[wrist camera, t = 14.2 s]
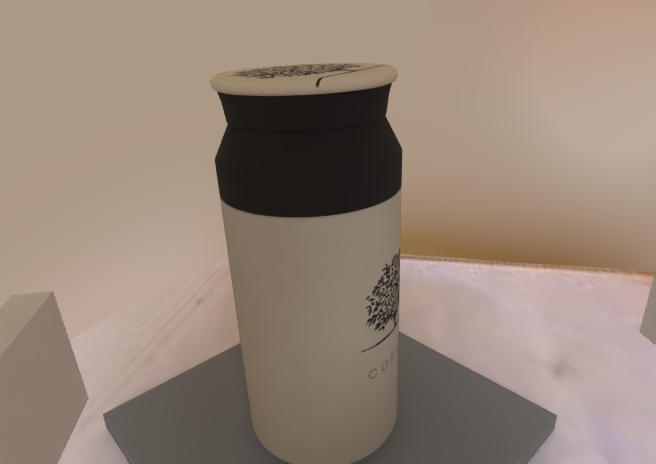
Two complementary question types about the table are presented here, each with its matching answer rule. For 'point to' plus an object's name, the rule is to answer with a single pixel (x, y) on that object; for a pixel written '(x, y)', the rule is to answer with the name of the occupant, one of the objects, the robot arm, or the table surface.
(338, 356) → the travel mug
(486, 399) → the mat
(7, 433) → the robot arm
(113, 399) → the table surface
